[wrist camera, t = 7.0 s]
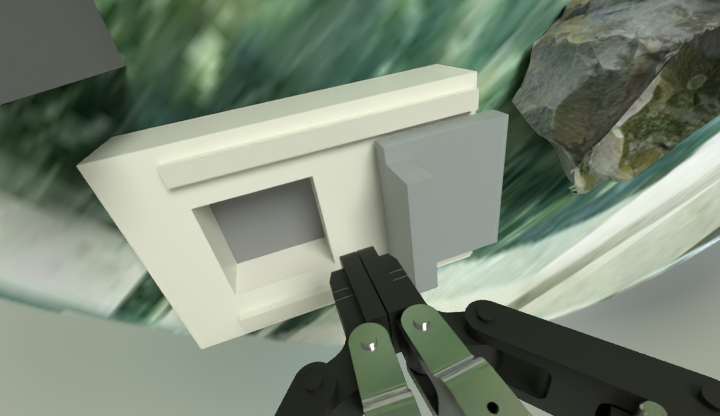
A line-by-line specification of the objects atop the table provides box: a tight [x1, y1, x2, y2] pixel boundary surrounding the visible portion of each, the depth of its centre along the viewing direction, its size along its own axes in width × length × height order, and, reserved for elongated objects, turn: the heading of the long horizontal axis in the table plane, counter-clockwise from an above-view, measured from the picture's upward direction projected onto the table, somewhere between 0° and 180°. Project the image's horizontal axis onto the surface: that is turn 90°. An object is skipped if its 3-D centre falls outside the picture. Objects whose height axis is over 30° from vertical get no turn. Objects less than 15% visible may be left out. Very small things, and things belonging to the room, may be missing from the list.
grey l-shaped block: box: [375, 110, 509, 293], centre depth 17 cm, size 8×7×4 cm
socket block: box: [76, 64, 479, 349], centre depth 19 cm, size 12×18×4 cm, turn 99°
